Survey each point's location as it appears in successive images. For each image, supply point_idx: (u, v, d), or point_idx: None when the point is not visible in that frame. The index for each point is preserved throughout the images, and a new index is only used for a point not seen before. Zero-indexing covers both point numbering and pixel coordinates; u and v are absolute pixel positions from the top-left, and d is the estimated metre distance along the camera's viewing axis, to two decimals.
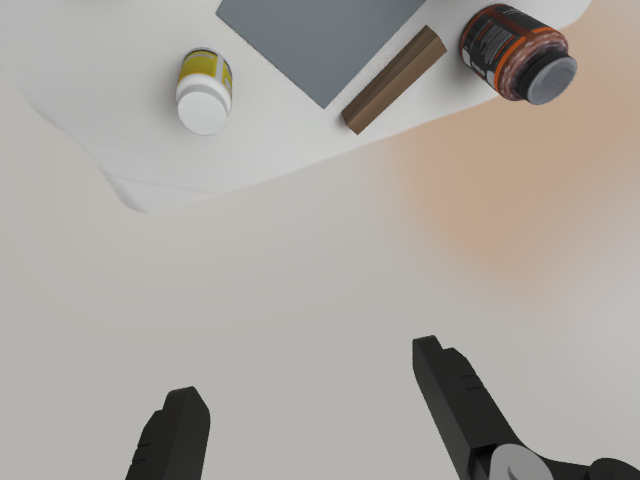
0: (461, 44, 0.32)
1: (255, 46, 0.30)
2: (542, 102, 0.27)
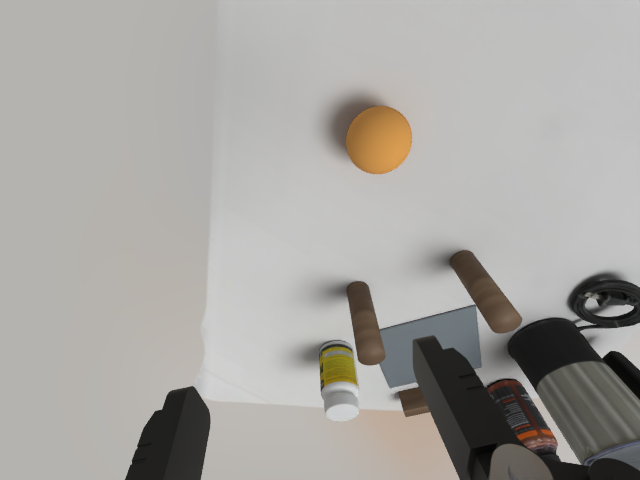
0: (489, 390, 0.48)
1: None
2: None
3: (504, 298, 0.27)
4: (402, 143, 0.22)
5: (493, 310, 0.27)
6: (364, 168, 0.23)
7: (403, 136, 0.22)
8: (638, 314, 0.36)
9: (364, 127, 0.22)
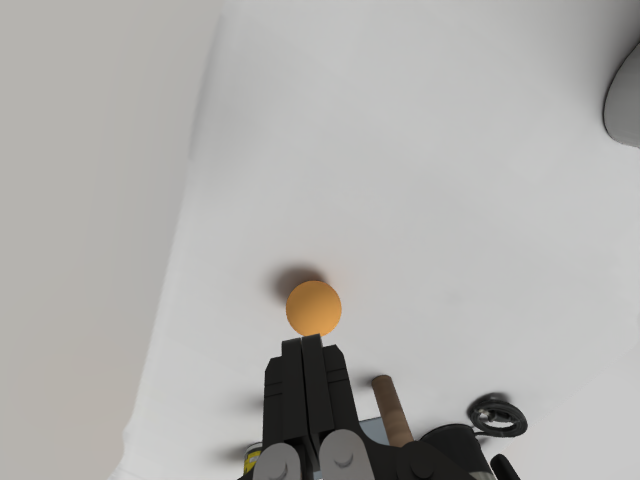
0: None
1: None
2: None
3: (408, 436, 0.32)
4: (332, 322, 0.26)
5: None
6: None
7: (333, 317, 0.26)
8: (517, 429, 0.43)
9: (301, 307, 0.25)
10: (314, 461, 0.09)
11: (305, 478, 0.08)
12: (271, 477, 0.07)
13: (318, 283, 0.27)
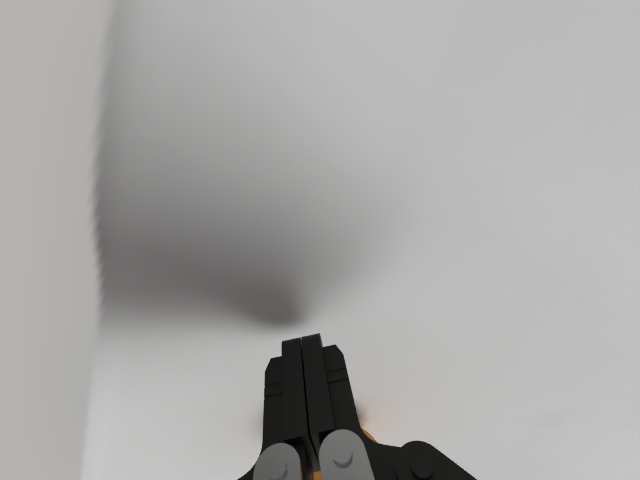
0: None
1: None
2: None
3: None
4: None
5: None
6: None
7: None
8: None
9: None
10: (314, 461, 0.09)
11: (305, 478, 0.08)
12: (271, 477, 0.07)
13: None
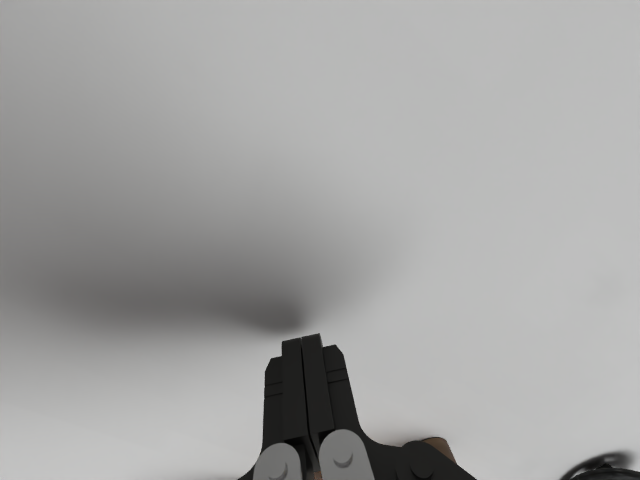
0: None
1: None
2: None
3: None
4: None
5: None
6: None
7: None
8: None
9: None
10: (314, 461, 0.09)
11: (305, 478, 0.08)
12: (271, 477, 0.07)
13: None
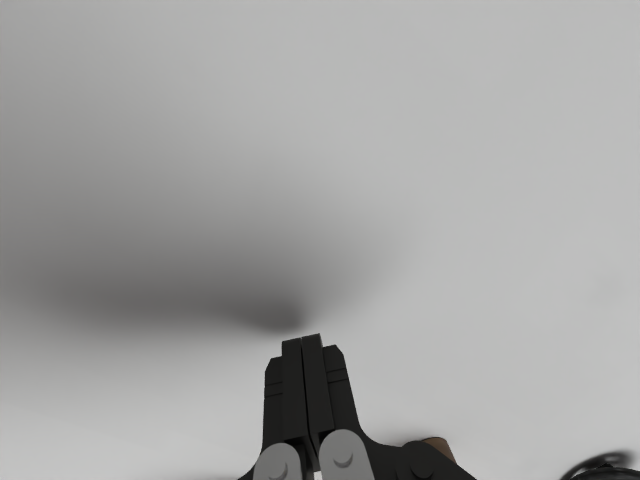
0: None
1: None
2: None
3: None
4: None
5: None
6: None
7: None
8: None
9: None
10: (314, 461, 0.09)
11: (305, 478, 0.08)
12: (271, 477, 0.07)
13: None
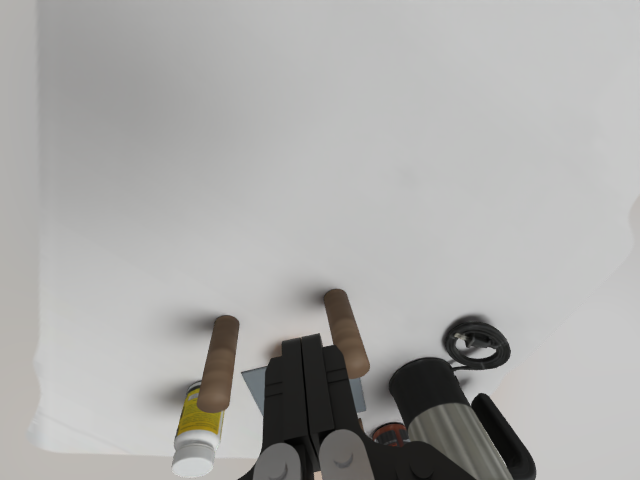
0: (375, 434, 0.47)
1: (253, 393, 0.39)
2: None
3: (357, 341, 0.27)
4: None
5: (343, 354, 0.26)
6: None
7: None
8: (499, 357, 0.38)
9: None
10: (314, 461, 0.09)
11: (305, 478, 0.08)
12: (271, 478, 0.07)
13: None
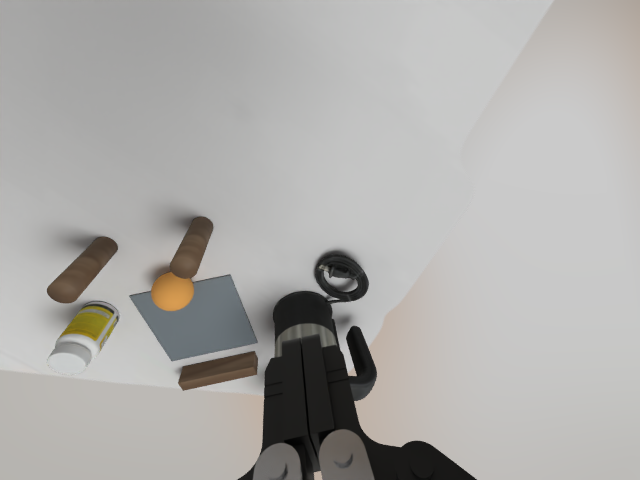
0: None
1: (144, 317, 0.44)
2: None
3: (191, 248, 0.31)
4: None
5: (174, 256, 0.30)
6: None
7: None
8: (360, 288, 0.42)
9: None
10: (314, 461, 0.09)
11: (305, 478, 0.08)
12: (271, 477, 0.07)
13: (183, 307, 0.39)
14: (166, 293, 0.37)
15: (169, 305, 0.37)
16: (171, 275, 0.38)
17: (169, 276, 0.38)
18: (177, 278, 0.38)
